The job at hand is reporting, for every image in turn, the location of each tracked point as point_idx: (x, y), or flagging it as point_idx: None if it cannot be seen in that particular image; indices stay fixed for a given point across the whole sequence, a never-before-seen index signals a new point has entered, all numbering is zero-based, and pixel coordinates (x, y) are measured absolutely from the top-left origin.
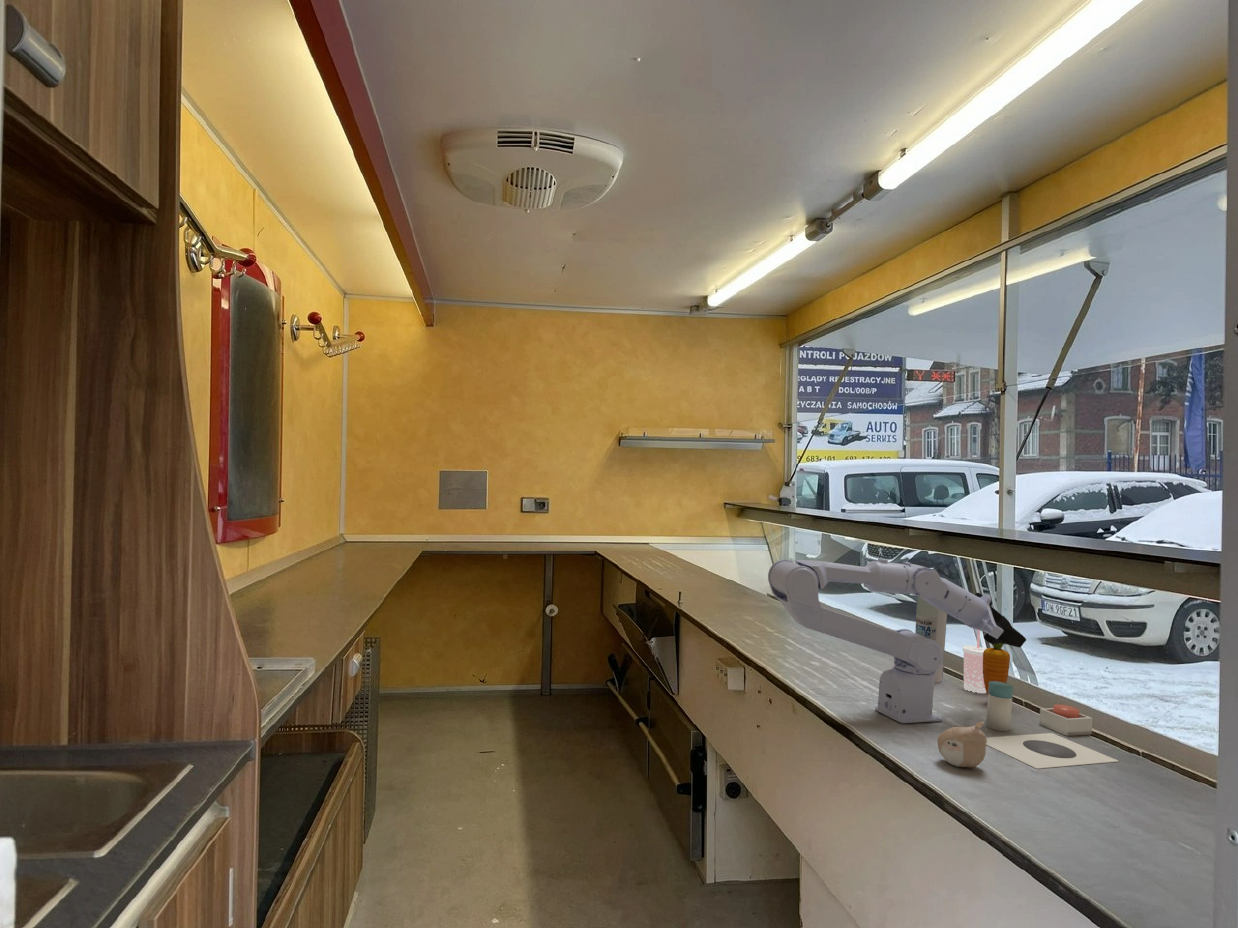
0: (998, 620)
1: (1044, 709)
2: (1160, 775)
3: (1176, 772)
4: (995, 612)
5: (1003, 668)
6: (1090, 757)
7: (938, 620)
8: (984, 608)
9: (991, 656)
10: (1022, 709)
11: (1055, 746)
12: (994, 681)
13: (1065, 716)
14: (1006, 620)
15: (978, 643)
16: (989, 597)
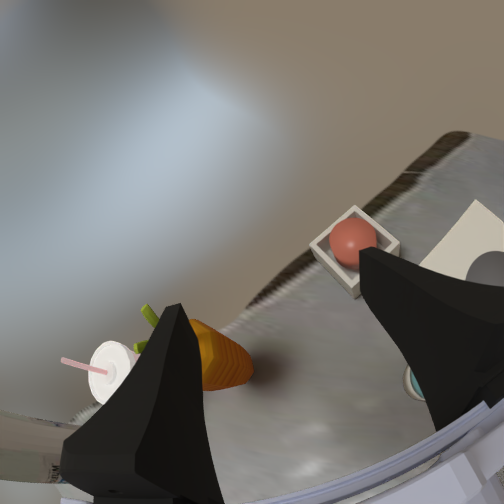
0: (189, 344)
1: (351, 280)
2: (486, 165)
3: (457, 148)
4: (171, 356)
5: (230, 344)
6: (492, 233)
7: (46, 449)
8: (499, 483)
9: (212, 373)
10: (261, 320)
11: (481, 279)
12: (418, 386)
13: (376, 246)
14: None
15: (98, 370)
16: (467, 484)
